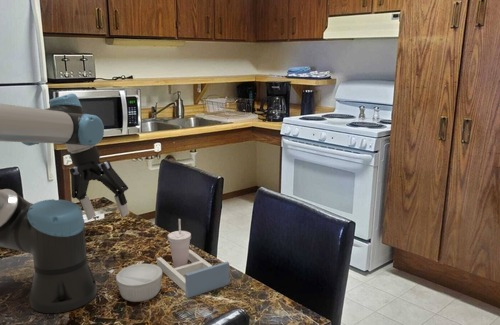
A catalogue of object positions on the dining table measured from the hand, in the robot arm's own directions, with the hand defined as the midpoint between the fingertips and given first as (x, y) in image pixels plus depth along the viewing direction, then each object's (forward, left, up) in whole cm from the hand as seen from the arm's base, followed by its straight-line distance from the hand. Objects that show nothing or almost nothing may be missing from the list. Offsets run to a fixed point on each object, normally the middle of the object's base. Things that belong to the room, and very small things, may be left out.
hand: (108, 216), depth 127 cm
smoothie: (+1, -24, -12) cm, 27 cm away
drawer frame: (-2, -29, -12) cm, 31 cm away
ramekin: (-15, -23, -12) cm, 29 cm away
